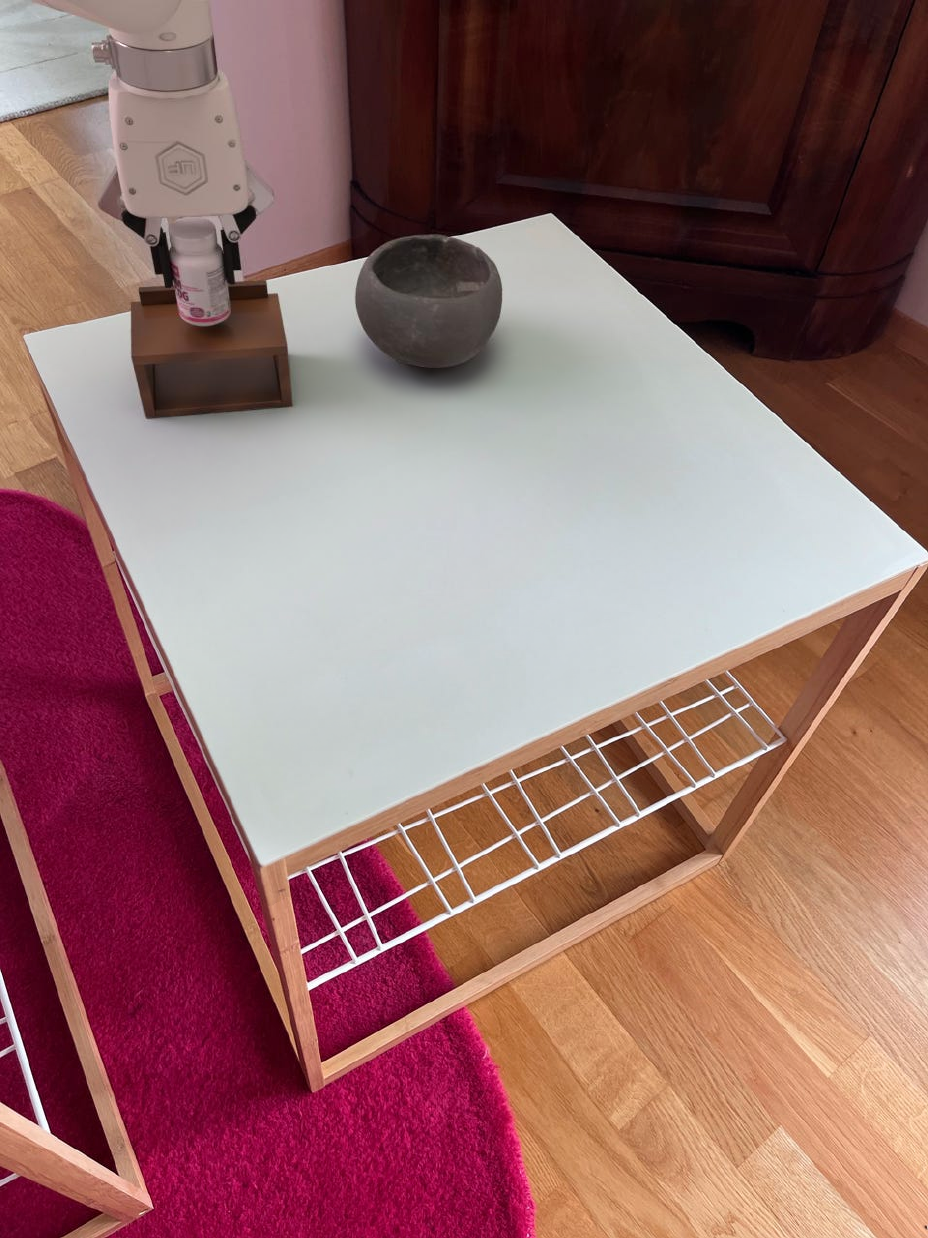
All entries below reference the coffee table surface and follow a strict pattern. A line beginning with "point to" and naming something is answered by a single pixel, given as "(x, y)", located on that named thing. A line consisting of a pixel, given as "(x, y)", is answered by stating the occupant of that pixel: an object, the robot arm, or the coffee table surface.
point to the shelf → (210, 354)
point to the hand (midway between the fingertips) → (199, 276)
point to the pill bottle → (198, 272)
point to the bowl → (429, 300)
